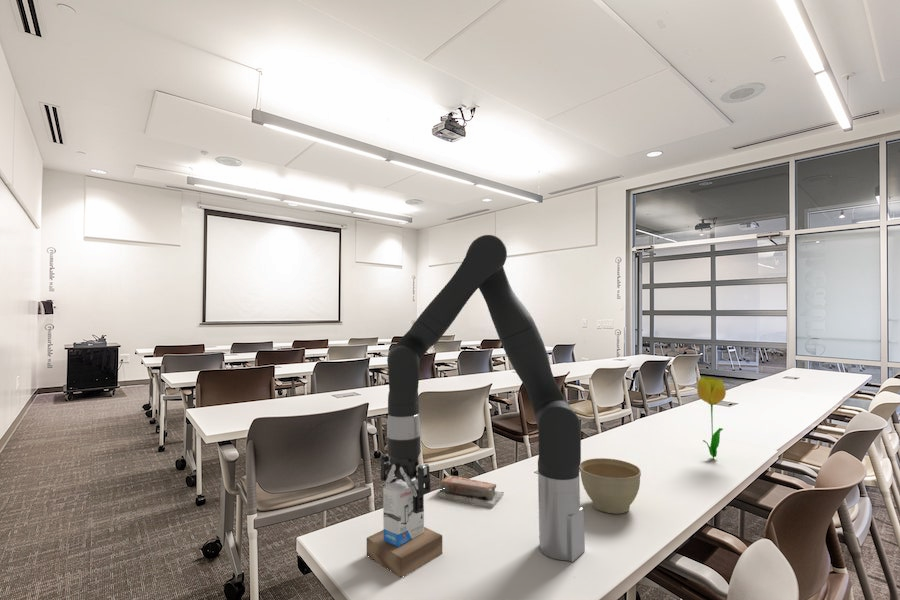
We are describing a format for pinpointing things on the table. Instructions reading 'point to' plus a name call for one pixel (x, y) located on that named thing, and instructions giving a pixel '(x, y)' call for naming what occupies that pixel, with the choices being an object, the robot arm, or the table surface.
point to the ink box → (400, 514)
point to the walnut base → (405, 551)
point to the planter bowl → (610, 483)
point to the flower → (712, 394)
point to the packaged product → (469, 491)
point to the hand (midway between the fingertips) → (404, 506)
